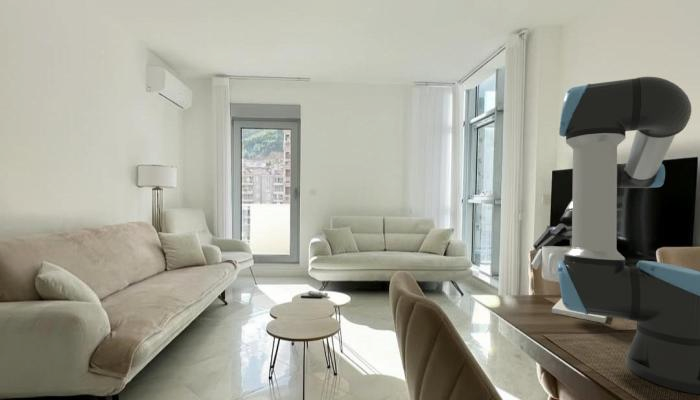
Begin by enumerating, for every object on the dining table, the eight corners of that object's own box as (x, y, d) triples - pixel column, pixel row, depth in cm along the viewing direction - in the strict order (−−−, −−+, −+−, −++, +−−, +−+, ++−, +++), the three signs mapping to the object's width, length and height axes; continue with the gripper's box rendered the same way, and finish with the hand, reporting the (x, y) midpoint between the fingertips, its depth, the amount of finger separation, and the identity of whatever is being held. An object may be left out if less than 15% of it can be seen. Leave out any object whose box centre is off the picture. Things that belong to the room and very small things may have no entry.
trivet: (604, 323, 104) (604, 318, 104) (551, 312, 114) (551, 308, 114) (609, 311, 116) (609, 306, 116) (561, 302, 125) (561, 298, 125)
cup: (574, 279, 112) (574, 247, 112) (565, 286, 104) (565, 252, 103) (545, 275, 118) (546, 245, 118) (534, 281, 109) (535, 249, 109)
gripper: (616, 227, 109) (587, 284, 102) (550, 222, 128) (521, 270, 120) (607, 210, 107) (578, 267, 99) (541, 208, 125) (512, 256, 117)
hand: (547, 269), depth 110 cm, fingers closed on cup, 8 cm apart
